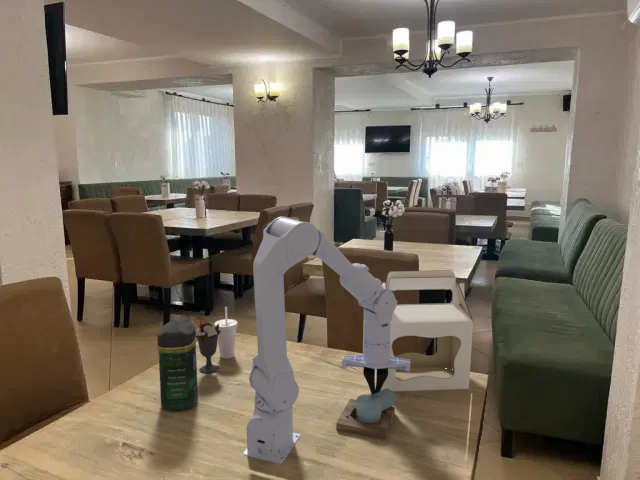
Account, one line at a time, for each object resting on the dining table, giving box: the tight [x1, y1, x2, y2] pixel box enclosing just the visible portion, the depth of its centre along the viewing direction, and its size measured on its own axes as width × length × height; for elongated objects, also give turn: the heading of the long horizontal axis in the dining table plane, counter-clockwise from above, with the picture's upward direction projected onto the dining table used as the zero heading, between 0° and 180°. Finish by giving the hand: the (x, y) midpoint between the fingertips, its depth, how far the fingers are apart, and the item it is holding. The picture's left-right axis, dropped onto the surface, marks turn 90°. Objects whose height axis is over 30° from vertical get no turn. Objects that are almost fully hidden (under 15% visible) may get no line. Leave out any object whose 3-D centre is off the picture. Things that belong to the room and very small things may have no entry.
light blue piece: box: [356, 388, 396, 424], centre depth 97 cm, size 9×5×5 cm, turn 130°
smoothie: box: [213, 306, 239, 360], centre depth 128 cm, size 6×6×14 cm
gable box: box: [375, 269, 474, 392], centre depth 114 cm, size 22×13×28 cm, turn 94°
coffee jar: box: [156, 319, 199, 412], centre depth 104 cm, size 10×8×19 cm
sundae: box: [195, 315, 221, 375], centre depth 120 cm, size 7×7×15 cm
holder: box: [335, 398, 396, 441], centre depth 97 cm, size 10×10×2 cm
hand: (375, 398), depth 102 cm, fingers closed
